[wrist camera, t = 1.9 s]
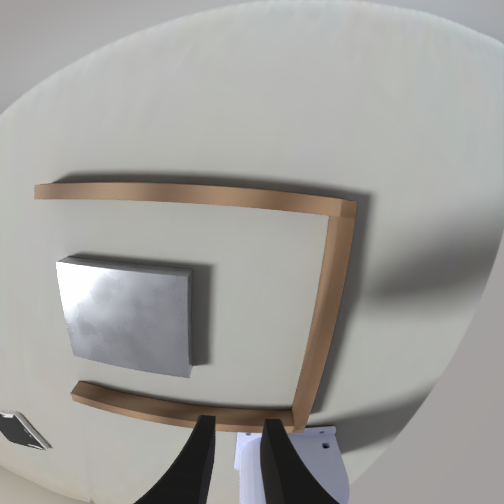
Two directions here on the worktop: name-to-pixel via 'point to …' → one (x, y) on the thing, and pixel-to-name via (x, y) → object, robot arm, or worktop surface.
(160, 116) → the worktop surface
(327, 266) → the walnut u-shaped frame
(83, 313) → the cover plate
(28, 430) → the smartphone
